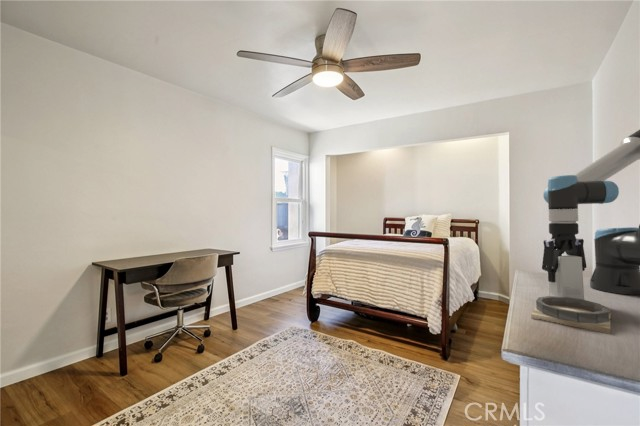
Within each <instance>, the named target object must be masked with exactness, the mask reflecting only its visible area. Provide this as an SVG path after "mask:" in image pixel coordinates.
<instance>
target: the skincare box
mask: <svg viewBox="0 0 640 426" xmlns="http://www.w3.org/2000/svg"><path fill="white" fill-rule="evenodd" d="M552 268H553V267H552ZM556 272H557V273H559V293H556V292H552V291H549V281H548V280H547V289H548V290H547V292H548V293H547V294H548V296H557V297H569V298H576V299H582V300H585V289H584V288H585V287H584V273H583V272H584V271H583V270H582V257H578V256H573V255H567V254H566V253H563V254H562V256H559V257H558V268H557V271H556ZM546 274H547V279H548V271H546Z"/></svg>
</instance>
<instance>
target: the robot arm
mask: <svg viewBox="0 0 640 426" xmlns="http://www.w3.org/2000/svg"><path fill="white" fill-rule="evenodd" d="M638 160H640V129H638V130H636V131H635V132H633V133H631V134H630V135H628V136H627V137H625V138H624V139H622V141H620V144H619V145H618V146H617V147H615V148H614V149H612V150H611V151H609V152H607V153H606V154H604V155H603V156H601V157H600V158H598V159H596V160H595V161H593V162H592V163H590V164H588V165H587V166H586V167H584V168H582V169H581V170H579V171H578V172H576V173H575V174H569V175H568V174H566V175H557V176H556V175H555V176H551V177H550V178H548V181H547V187H546V188H545V190H544V191H543V196H542V197H543V199H544V200H545V201H544V202H546V203H548V221H549V223H548V233H549V234H550V235H551V238H550V239H547V240H546V239H545V240H543V248H544V249H543V257H542V264H541V265H542V266H541V269H542V270H543V271H545V272H547V271H548V278H547V282H548V281H549V291H552V292H556V293H559V273H557V272H556V271H557V268H558V257H559V256H562V254H567V255H573V256H578V257H582V270H583V272H585V270H586V268H587V262H586V261H587V260H586V256H585V248H584V242H585V241H584V239H583V238H577V237H576V236H577V235H578V234H580V233H579V223H577V222H578V221H579V205H589V204H590V205H591V204H592V205H593V204H596V205H597V204H599V205H604V204H610V203H612V202H614V201H616V199H618V196H619V194H620V193H619V191H620V189H619V186H618V185H617V184H616V183H615V182H613V181H611V180H608V179H610V178H611V177H613V176H614V175H616V174H618V173H619V172H621V171H622V170H624V169H625V168H627V167H629V166H631V165H632V164H634V163H635V162H637V161H638ZM593 241H594V253H595V254H594V256H595V268H594V270H593V272H592V275H591V277H590V279H589V286H590V288H591V289H595V290H597V291H601V292H602V291H603V292H607V293H613V294H621V295H633V296H634V295H635V296H636V295H637V296H640V224H639V225H638V227H613V228H612V227H610V228H600V229H597V230H596V231H595V233H594V239H593ZM552 267H553V268H552Z"/></svg>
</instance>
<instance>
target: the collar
mask: <svg viewBox="0 0 640 426" xmlns="http://www.w3.org/2000/svg"><path fill="white" fill-rule="evenodd" d="M535 304H536V307H535V308H534V309H533V311H532V312H531V314H530V315H531V316H530V317H531V319H534V318H536V319H535V320H539V319H542V320H541V321H544V320H547V321H546V322H549V321H551V322H550V323H554V322H556V323H555V324H559V323H560V324H559V325H563V326H564V325H566V326H570V327H576V328H581V329H586V330H589V331H597V332H601V333H606V334H611V320H610V319H611V315H612V314H611V311H610V309H609V308H608V307H607V306H605V305H603V304H601V303H598V302H594V301H592V300H591V301H590V300H587V299H584V300H582V299H576V298H569V297H557V296H549V295H547V296H540V297H537V299H536V301H535Z"/></svg>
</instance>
